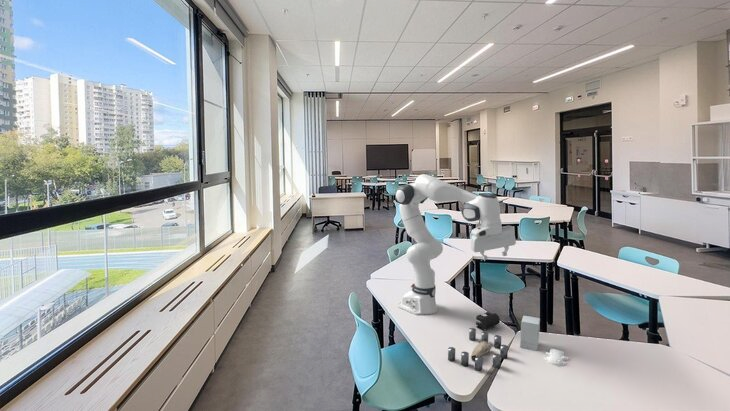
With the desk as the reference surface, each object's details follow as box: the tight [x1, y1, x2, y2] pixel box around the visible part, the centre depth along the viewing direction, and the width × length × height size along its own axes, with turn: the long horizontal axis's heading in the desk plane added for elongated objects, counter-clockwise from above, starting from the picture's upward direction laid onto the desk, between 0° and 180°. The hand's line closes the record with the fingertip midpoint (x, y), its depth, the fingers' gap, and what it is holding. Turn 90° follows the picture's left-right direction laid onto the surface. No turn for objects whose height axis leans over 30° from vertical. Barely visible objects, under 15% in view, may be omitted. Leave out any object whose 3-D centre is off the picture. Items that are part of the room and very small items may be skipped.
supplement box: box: [519, 315, 541, 352], centre depth 174 cm, size 7×7×13 cm
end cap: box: [475, 311, 501, 332], centre depth 192 cm, size 10×7×7 cm
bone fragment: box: [470, 341, 493, 361], centre depth 167 cm, size 14×6×5 cm, turn 137°
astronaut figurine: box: [544, 348, 569, 367], centre depth 164 cm, size 9×12×3 cm
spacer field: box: [447, 327, 509, 372], centre depth 167 cm, size 20×25×5 cm
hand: (495, 257), depth 176 cm, fingers open, 8 cm apart
